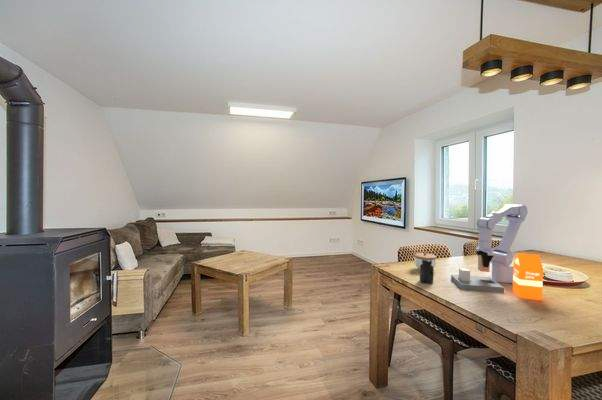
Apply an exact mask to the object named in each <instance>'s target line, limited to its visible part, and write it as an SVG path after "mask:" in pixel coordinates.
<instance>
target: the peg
mask: <svg viewBox="0 0 602 400" xmlns="http://www.w3.org/2000/svg"><path fill="white" fill-rule="evenodd" d="M490 265H491V263H490V264H489V267H483V260H482V257H481V255H477V270H478V271H480V272H482V273H483V272H484V273H485V272H486V273H489V272H490Z"/></svg>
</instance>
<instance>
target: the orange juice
mask: <svg viewBox="0 0 602 400" xmlns="http://www.w3.org/2000/svg"><path fill="white" fill-rule="evenodd" d="M513 268H514V269H513V283H512V293H513V294H515V295H516V297H518V298H520V299H529V300H538V301H542V300H543V288H544V287H543V284H544V283H543V282H544V281H543V280H544V279H543V278H544V277H543V276H544V268H543V263H542V259H541V255H540V254H535V253H534V254H533V253H520V252H518V253H516V256H515V259H514V260H513Z"/></svg>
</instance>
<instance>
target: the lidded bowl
mask: <svg viewBox="0 0 602 400" xmlns="http://www.w3.org/2000/svg"><path fill="white" fill-rule="evenodd" d="M413 256H414V259H413V260H414V264H415V267H416V268H417V269H418V271H420V265H421V264H422V259H429V260H432V264H431V265H432V266H433V267H434V268H435V266H436V264H437V255H435V254H432V253H427V252H426V251H424V252H416V253H414V255H413Z"/></svg>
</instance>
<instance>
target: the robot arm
mask: <svg viewBox="0 0 602 400" xmlns="http://www.w3.org/2000/svg"><path fill="white" fill-rule="evenodd" d="M527 215H528V207H527V206H526V205H525V204H509V203H505V204H504V205H502V208H501V209H500V210H497V211H491V213H489V214H488V215H485V216H484V217H480V218H478V219H477V221H476V222H475V223H476V228H477V231H478V245H477V246H476V248H475V250H476V251H475V253H476V255H477V256H478V255H481V257H482V260H483V267H489V264H490V265H491V276H489V277H490V278H491V279H493V280H494V281H496V282H497V283H507V284H513V269H514V265H512V263H513V262H514V255H515V254H514V253H513V251H512V250H511V248H512V246H513V243H514V241H515V239H516V236H517V234H518V232H519V229H520V228H521V225H522V224H523V222H524V221H525V220H526V217H527ZM504 217H505V220H507V221H508V225H507V227H506V229H505V231H504V234H502V235H503V236H502V238H501V241H500V243H499V244H498V245H497V246H495V247H492V241H493V240H492V239H493V236H492V235H493V230H494V229H495V226H497V224H498V223H500V222H502V221H503V218H504Z"/></svg>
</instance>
